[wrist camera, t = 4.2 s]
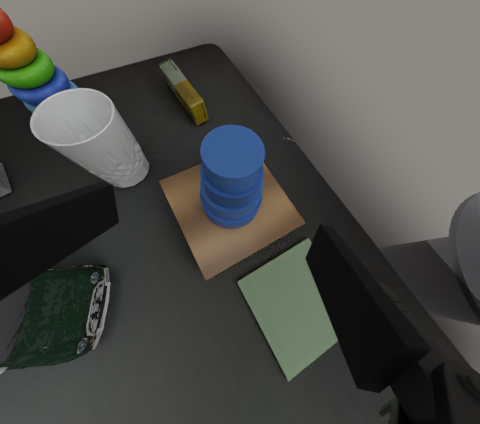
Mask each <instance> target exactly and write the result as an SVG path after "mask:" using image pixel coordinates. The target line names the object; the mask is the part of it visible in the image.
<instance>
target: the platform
mask: <svg viewBox="0 0 480 424" xmlns="http://www.w3.org/2000/svg"><path fill="white" fill-rule="evenodd" d="M200 166H201V164H199V165H197V166H194V167H192V168H190V169H187V170H185V171H182V172H180V173H178V174H175V175H173V176H171V177H168V178H166V179H163V180H161V181H159V183H160V185H161V187H162V189H163V191H164V194H165V196H166V198H167V200H168V202H169V204H170V206H171V208H172V211H173V213H174V215H175V217H176V219H177V221H178V223H179V226H180V228H181V230H182V232H183V234H184V236H185V238H186V240H187V243H188V245H189V247H190V249H191V251H192V253H193V255H194V258H195V260H196V262H197V264H198V266H199V268H200V270H201V272H202V275H203V277H204V279H205V281H207V280H209V279H211V278H213V277H215V276H216V275H218V274H220V273H222V272H223V271H225V270H227V269H228V268H230V267H232V266H233V265H235V264H237V263H239V262H240V261H242V260H244V259H245V258H247V257H249V256H251V255H252V254H254V253H256V252H257V251H259V250H261V249H262V248H264V247H266V246H268V245H269V244H271V243H273V242H274V241H276V240H278V239H280V238H281V237H283V236H285V235H286V234H288V233H290V232H291V231H293V230H295V229H296V228H298V227H300V226H301V225H303V224H304V223H305V222H304V220H303V219H302V217H301V216H300V214H299V213H298V211H297V210H296V209H295V207H294V206H293V204H292V203H291V201H290V200H289V198H288V197H287V196H286V194H285V193H284V191H283V190H282V188H281V187H280V186H279V184H278V183H277V181H276V180H275V178H274V177H273V175H272V174H271V173H270V171H269V170H268V168H267V167H266V165H265V164H264V162H263V168H264V175H263V179H262V181H263V190H262V202H261V205H260V207H259V209H258V211H257V213H256V215H255V217H254V218H253V219H252V221H250V222H249V223H248V224H246V225H245V226H242V227H240V228H235V229H227V228H222V227H220V226H218V225H216V224H214V223H213V222H212V221H211V220H210V219H209V218H208V217H207V215H206V214H205V211H204V209H203V206H202V204H201V200H200V190H201V189H200V179H201V175H200Z"/></svg>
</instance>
